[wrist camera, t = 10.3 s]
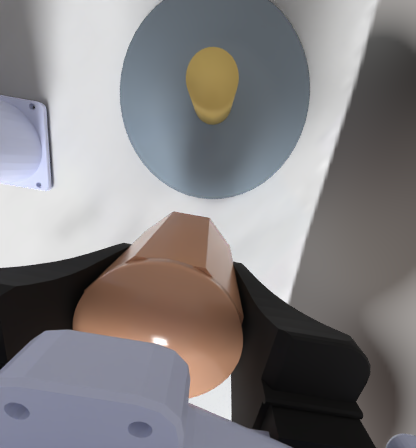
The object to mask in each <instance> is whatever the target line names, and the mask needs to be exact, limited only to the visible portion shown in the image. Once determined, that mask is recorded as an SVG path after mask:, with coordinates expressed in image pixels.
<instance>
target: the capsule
mask: <svg viewBox="0 0 416 448" xmlns="http://www.w3.org/2000/svg"><path fill="white" fill-rule="evenodd" d="M238 82H239V73H238V68H237V65H236V62H235V60H234V59H233V57H232V56H231V55H230V54H229V53H228V52H227V51H225V50H224V49H221V48H218V47H207V48H204V49H202V50H200V51H199V52H197V53H196V54H195V55H194V56H193V58H192V59H191V61H190V63H189V65H188V68H187V72H186V85H187V89H188V92H189V95H190V98H191V101H192V103H193V106H194V109H195V112H196V114H197V116H198V117H199V119H200V120H201V121H203V122H204V123H206V124H210V125H215V124H219V123H221V122H223V121H224V120H225V119H226V118H227V117H228V115H229V113H230V111H231V107H232V104H233V101H234V97H235V94H236V91H237V87H238Z"/></svg>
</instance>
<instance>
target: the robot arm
mask: <svg viewBox="0 0 416 448" xmlns="http://www.w3.org/2000/svg"><path fill="white" fill-rule="evenodd" d="M33 105H34V106H35V109H33ZM0 183H1V184H7V185H13V186H19V187H24V188H30V189H36V190H42V191H49V190H51V187H52V184H51V170H50V155H49V141H48V126H47V111H46V107H45V105H44V104H43V103H40V102H38V101H32V100H26V99H21V98H15V97H9V96H4V95H0ZM40 184H41V186H40ZM131 245H132V244H127V243H122V244H118V245H114V246H111V247H108V248H105V249H102V250H99V251H96V252H92V253H89V254H85V255H82V256H78V257H74V258H70V259H66V260H61V261H56V262H50V263H43V264H36V265H29V266H20V267H9V268H0V448H376V447H375V445H374V444H373V442H372V440H371V438H370V437H369V435H368V433H367V431H366V430H365V428H364V426H363V425H362V423H361V421H360V419H362V418H363V413H362V411H361V409H360V408H359V406H358V404H357V403H356V401H357V399H358V397H359V395H360V394H361V392H362V390H363V388H364V387H365V385H366V383H367V381H368V378H369V376H370V363H369V361H368V358H367V357H366V355H365V354H364V353H363V352H362V350H361V349H360V348H359V347H358V346H357V344H356V343H355V341H354V340H353V339H352V338H351V337H350V336H349V335H347V334H345V333H342V332H340V331H338V330H335V329H333V328H331V327H329V326H326V325H324V324H322V323H320V322H318V321H316V320H314V319H312V318H310V317H308V316H307V315H305V314H303V313H301V312H300V311H298V310H296V309H295V308H293V307H292V306H290V305H288V304H287V303H285V302H284V301H283V300H281V299H280V298H279V297H277V296H276V295H275V294H273V293H272V292H271V291H270V290H268V289H267V288H266V287H265V286H264V285H263V284H262V283H261V282H260V281H259V280H258V279H257V278H256V277H255V276H254V275H253V274H252V273H251V272H250V271H249V270H248V269H247V268H246V267H245V266H244V265H243V264H242V263H237V262H233V266H234V270H235V275H236V280H237V285H238V290H239V295H240V300H241V305H242V310H243V315H244V318H243V322H242V325H241V326H242V333H243V348H242V353H241V356H240V359H239V362H238V364H237V365H236V367H235V369H234V370H233V372H232V373H231V400H232V421H230V420H228V419H225V418H223V417H221V416H218V415H216V414H214V413H211V412H209V411H207V410H204V409H202V408H200V407H197V406H195V405H193V404H190V403H188V398H189V389H190V374H189V367H188V364H187V363H186V362H185V361H184V360H183V359H182V358H181V357H180V356H179V355H178V354H177V353H176V351H174V350H172V349H169V348H167V347H164V346H161V345H159V344H155V343H149V342H143V341H137V340H131V339H124V338H118V337H112V336H106V335H100V334H93V333H87V332H81V331H75V330H73V317H74V312H75V309H76V306H77V304H78V302H79V300H80V299H81V297H82V295H83V294H84V290H85V289H86V288H87V287H88V286H89V285H90V284H91V283H92V282H93V281H95V280H96V279H97V278H98V277H99V276H100V275H101V274H102V273H103V272H104V271H105V270H106V269H107V268H108V267H109V266H110V265H111V264H112V263H113V262H114V261H115V260H116V259H117V258H118V257H119V256H120V255H121V254H122V253H123V252H125V251H126V250H127V249H128V248H129V247H130V246H131ZM386 448H416V435H410V434H398V435H395V436H393V437H392V438H391V439H390V440H389V441H388V443H387V445H386Z"/></svg>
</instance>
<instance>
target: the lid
mask: <svg viewBox="0 0 416 448" xmlns="http://www.w3.org/2000/svg"><path fill="white" fill-rule="evenodd" d="M207 47H218V48H221V49H224V50H225V51H227V52H228V53H229V54H230V55H231V56H232V57H233V59H234V60H235V62H236V65H237V68H238V73H239V82H238V87H237V91H236V94H235V97H234V101H233V104H232V107H231V111H230V113H229V115H228V117H227V118H226V119H225V120H224V121H223V122H221V123H219V124H215V125H210V124H206V123H204V122H203V121H201V120H200V119H199V117H198V116H197V114H196V112H195V109H194V106H193V103H192V101H191V98H190V95H189V92H188V89H187V85H186V72H187V68H188V65H189V63H190V61H191V59H192V58H193V56H194V55H195V54H196V53H197V52H199V51H200V50H202V49H204V48H207ZM309 96H310V82H309V72H308V65H307V61H306V57H305V53H304V50H303V47H302V45H301V42H300V40H299V38H298V35H297V34H296V32H295V30H294V29H293V27H292V25H291V23H290V22H289V21H288V19H287V18H286V17H285V16H284V14H283V13H282V12H281V11H280V10H279V9H278V8H277V7H276V6H275V5H274V4H273V3H272V2H271V1H269V0H163V1H162V2H161V3H160V4H159V5H157V6H156V7H155V8H154V9H153V10H152V11H151V12H150V13H149V15H148V16H147V17H146V18H145V19H144V20H143V22H142V23H141V25H140V26H139V28H138V29H137V31H136V32H135V34H134V36H133V39H132V41H131V43H130V45H129V47H128V50H127V53H126V56H125V59H124V63H123V68H122V73H121V82H120V104H121V111H122V117H123V121H124V125H125V129H126V132H127V134H128V137H129V140H130V142H131V144H132V146H133V148H134V150H135V152H136V153H137V155H138V156H139V158H140V159H141V161H142V162H143V163H144V165H145V166H146V167H147V168H148V169H149V170H150V172H151V173H153V174H154V175H155V176H156V177H157V178H158V179H159V180H161V181H162V182H163V183H165V184H166V185H168V186H169V187H171V188H173V189H175V190H177V191H179V192H181V193H184V194H187V195H189V196H194V197H198V198H206V199H222V198H228V197H233V196H236V195H240V194H243V193H245V192H247V191H250V190H252V189H254V188H256V187H257V186H259V185H261V184H262V183H264V182H265V181H266V180H267V179H269V178H270V177H271V176H272V175H273V174H274V173H275V172H276V171H277V170H279V169H280V168H281V166H282V165H283V164H284V162H285V161H286V160H287V159H288V157H289V156H290V154H291V153H292V151H293V149H294V148H295V146H296V144H297V142H298V140H299V138H300V135H301V133H302V130H303V127H304V124H305V121H306V116H307V112H308V106H309Z"/></svg>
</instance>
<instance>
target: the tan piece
mask: <svg viewBox="0 0 416 448" xmlns="http://www.w3.org/2000/svg"><path fill="white" fill-rule="evenodd" d="M243 318H244V315H243V310H242V305H241V300H240V295H239V290H238V285H237V280H236V275H235V270H234V266H233V260H232V255H231V250H230V246H229V244H228V243H227V242H226V240H225V239H224V237H223V236H222V235H221V233H220V232H219V230H218V229H217V228H216V226H215V225H214V223H213V222H212V221H211V219H210V218H207V217H201V216H195V215H190V214H184V213H179V212H172V213H171V214H169V215H168V216H166V217H165V218H164V219H162V220H161V221H159V222H158V223H156V224H155V225H154V226H152V227H151V228H149V229H148V230H147V231H145V232H144V233H143V234H142V235H141V236H140V237H139V238H138V239H137V240H136V241H135V242H134V243H133V244H132V245H131V246H130V247H129V248H128V249H127V250H126V251H125V252H123V253H122V254H121V255H120V256H119V257H118V258H117V259H116V260H115V261H114V262H113V263H112V264H111V265H110V266H109V267H108V268H107V269H106V270H105V271H104V272H103V273H102V274H101V275H100V276H99V277H98V278H97V279H96V280H95V281H93V282H92V283H91V284H90V285H89V286H88V287H87V288H86V289H85V290H84V294H83V295H82V297H81V299H80V300H79V302H78V304H77V306H76V309H75V312H74V317H73V330H75V331H81V332H87V333H93V334H100V335H106V336H112V337H118V338H124V339H131V340H137V341H143V342H149V343H155V344H159V345H161V346H164V347H167V348H169V349H172V350H174V351H176V353H177V354H178V355H179V356H180V357H181V358H182V359H183V360H184V361H185V362H186V363H187V364H188V367H189V374H190V389H189V398H192V397H196V396H199V395H201V394H204V393H206V392H208V391H210V390H212V389H214V388H215V387H217V386H218V385H220V384H221V383H222V382H223V381H224V380H226V379H227V378H228V377H229V375H230V374H231V373H232V372H233V370H234V369H235V367H236V365H237V364H238V362H239V359H240V356H241V353H242V348H243V333H242V326H241V325H242V322H243Z"/></svg>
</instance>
